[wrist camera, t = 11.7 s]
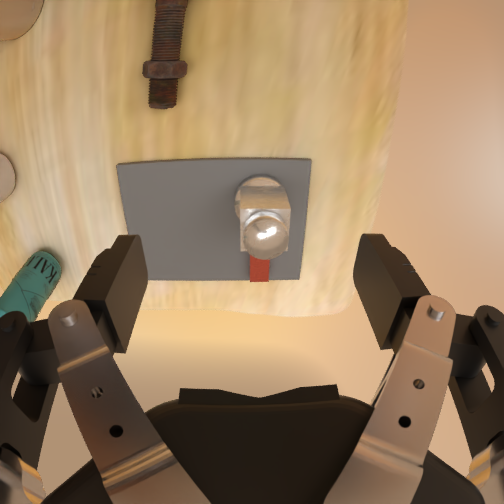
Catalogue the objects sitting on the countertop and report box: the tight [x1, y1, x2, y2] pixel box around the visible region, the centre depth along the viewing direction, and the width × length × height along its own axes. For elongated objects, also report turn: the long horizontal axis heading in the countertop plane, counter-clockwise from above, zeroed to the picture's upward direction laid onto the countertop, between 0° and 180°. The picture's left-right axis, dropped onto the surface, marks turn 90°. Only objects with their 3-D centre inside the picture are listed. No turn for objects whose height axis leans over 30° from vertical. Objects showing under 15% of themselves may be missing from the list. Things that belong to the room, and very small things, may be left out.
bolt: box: [142, 0, 188, 109], centre depth 28 cm, size 6×5×15 cm
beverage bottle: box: [0, 251, 61, 322], centre depth 37 cm, size 6×7×20 cm
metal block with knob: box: [240, 186, 291, 260], centre depth 35 cm, size 5×5×8 cm
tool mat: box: [116, 158, 311, 281], centre depth 42 cm, size 24×18×1 cm
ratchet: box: [235, 174, 288, 282], centre depth 40 cm, size 6×15×5 cm, turn 179°
